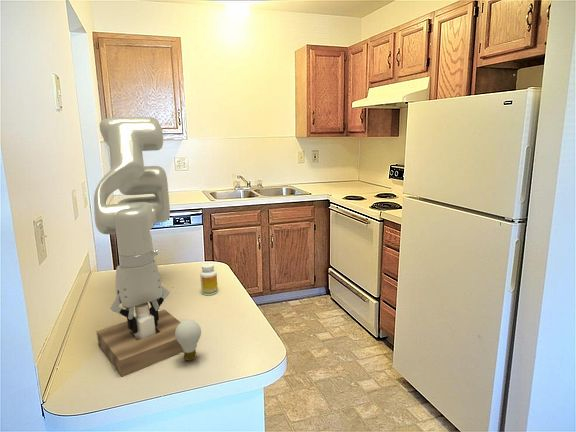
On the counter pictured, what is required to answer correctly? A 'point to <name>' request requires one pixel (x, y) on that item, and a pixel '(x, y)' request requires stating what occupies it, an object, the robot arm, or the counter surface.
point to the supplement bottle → (208, 280)
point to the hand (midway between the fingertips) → (144, 326)
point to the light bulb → (188, 337)
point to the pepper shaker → (144, 322)
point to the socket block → (139, 344)
